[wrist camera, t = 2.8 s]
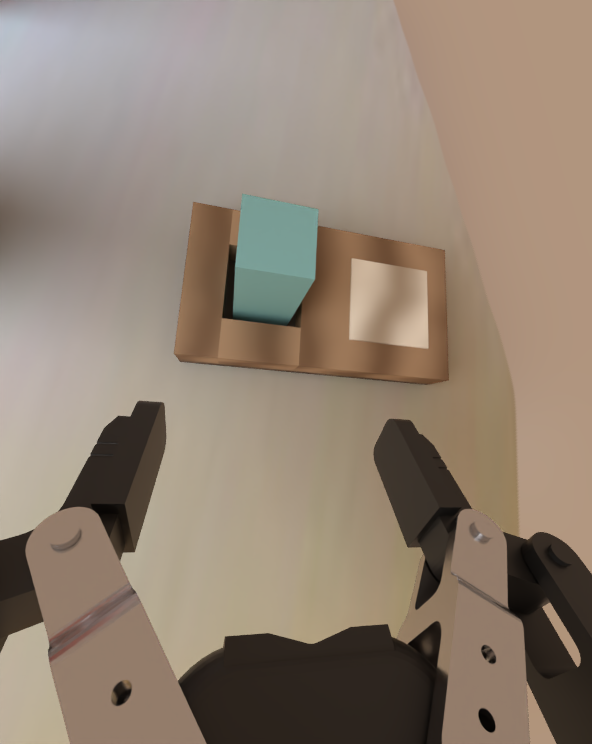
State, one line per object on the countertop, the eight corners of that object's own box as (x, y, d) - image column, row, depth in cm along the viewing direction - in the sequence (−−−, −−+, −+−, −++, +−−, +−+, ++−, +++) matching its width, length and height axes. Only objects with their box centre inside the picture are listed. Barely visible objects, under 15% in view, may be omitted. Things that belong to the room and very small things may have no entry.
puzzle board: (180, 361, 25) (173, 352, 22) (197, 226, 27) (193, 200, 24) (426, 384, 29) (450, 379, 26) (424, 266, 31) (446, 249, 28)
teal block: (232, 320, 26) (235, 266, 17) (237, 269, 26) (242, 193, 18) (286, 326, 26) (315, 279, 18) (289, 277, 27) (318, 209, 19)
